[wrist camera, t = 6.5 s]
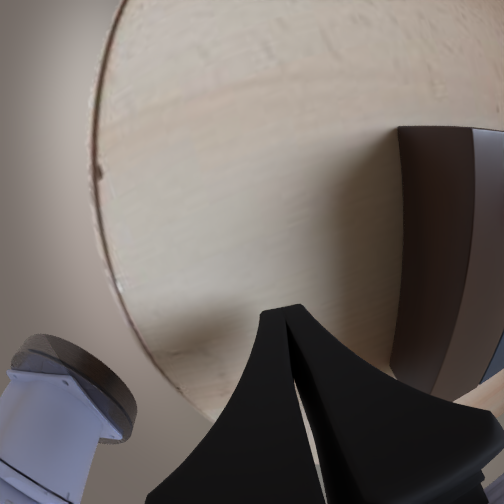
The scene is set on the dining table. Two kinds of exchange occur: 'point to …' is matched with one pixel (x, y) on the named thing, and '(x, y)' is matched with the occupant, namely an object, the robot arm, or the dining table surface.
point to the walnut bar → (450, 258)
